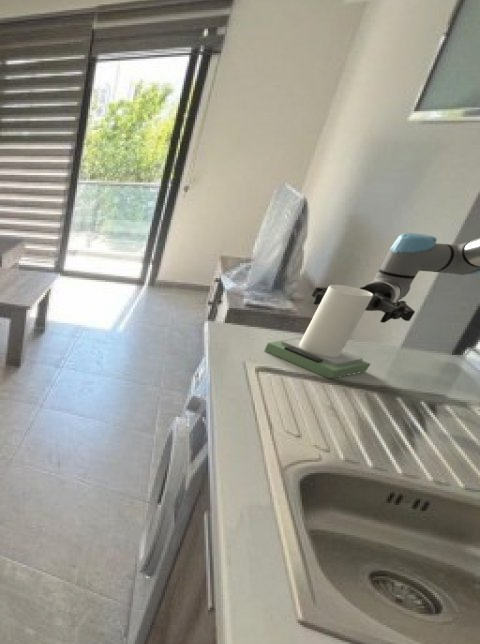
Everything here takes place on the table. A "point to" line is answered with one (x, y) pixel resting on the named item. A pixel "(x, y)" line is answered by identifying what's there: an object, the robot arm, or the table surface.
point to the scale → (317, 359)
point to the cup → (335, 320)
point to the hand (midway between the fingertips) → (349, 308)
